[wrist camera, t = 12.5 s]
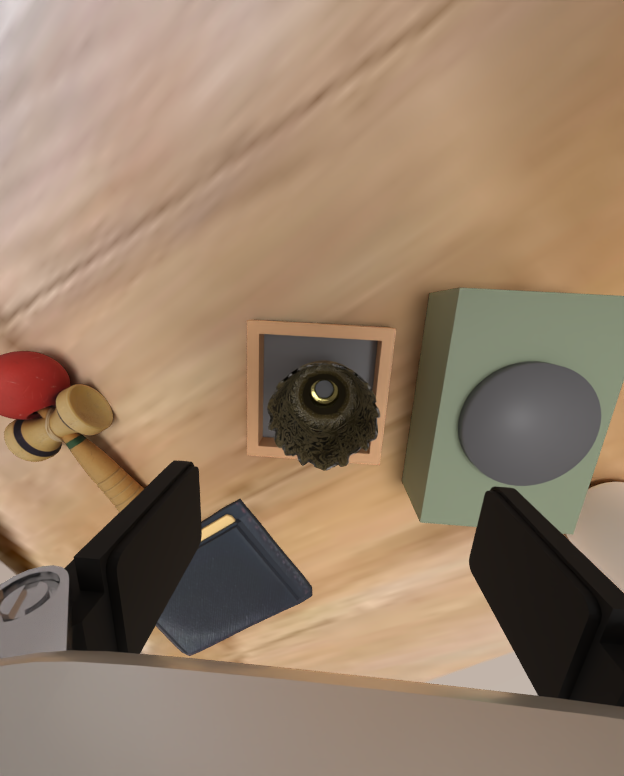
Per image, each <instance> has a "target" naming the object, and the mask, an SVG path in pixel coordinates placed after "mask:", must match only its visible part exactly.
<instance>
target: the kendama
mask: <svg viewBox="0 0 624 776" xmlns="http://www.w3.org/2000/svg"><path fill="white" fill-rule="evenodd" d="M0 415H1V416H4V417H8V418H12V419H16V420H14V421H13V422H11V423H10V424H9V425H8V426H7V427H6V429H5V431H4V439H5V442H6V445H7V446H8V448H9V450H10V451H11V452H12V453H13V454H15V455H16V456H17V457H19V458H21V459H23V460H26V461H31V462H39V461H43V460H46V459H48V458H50V457H52V456H54V455H56V454H57V453H58V452H59V451H60V449H61V446H62V442H65V443H66V445H67V446H68V448H69V449H70V451H71V452H72V454H73V455H74V457H75V458H76V459H77V461H78V462H79V464H80V465H81V466H82V468H83V469H84V470H85V471H86V473H87V474H88V475H89V476H90V478H91V479H92V480H93V481H94V482H95V483H96V484H97V486H98V487H99V488H100V489H101V490H102V491H103V492H104V494H105V495H106V496H107V497H108V498H109V500H110V501H111V502H112V503H113V504H114V505H115V507H116V508H117V510H118V511H119V512H121V511H122V510H123V509H124V508H125V507H126V506H127V505H128V504H129V503H130V502H131V501H132V500H133V499H134V498H135V497H136V496H137V495H138V494H139V493H140V492H141V491H143V490H144V488H143V487H142V486H139V484H138V483H137V482H136V481H135V480H134V479H133V478H132V477H131V476H130V475H129V474H127V473H126V472H125V471H124V470H123V469H122V468H121V467H119V465H118V464H117V463H116V462H115V461H114V460H113V459H111V458H110V457H109V456H108V455H107V454H106V453H105V452H103V451H102V450H101V449H100V448H99V447H97V446H96V445H95V444H94V443H92V442H91V441H90V440H88V439H87V438H86V437H84V436H83V435H82V434H84V435H96V434H98V433H100V432H102V431H103V430H105V429H107V428H108V427H109V426H110V425H111V424H112V421H113V414H112V410H111V407H110V405H109V403H108V402H107V400H106V399H105V398H104V397H103V396H102V395H101V394H100V393H99V392H98V391H96V390H95V389H93V388H92V387H89V386H87V385H83V384H76V385H73V386H71V387H70V379H69V376H68V374H67V372H66V370H65V369H64V368H63V367H62V365H60V364H59V363H58V362H57V361H56V360H54V359H52V358H50V357H49V356H46V355H44V354H41V353H37V352H31V351H17V352H10V353H6V354H3V355H0ZM80 433H81V434H80Z"/></svg>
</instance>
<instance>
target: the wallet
mask: <svg viewBox="0 0 624 776" xmlns="http://www.w3.org/2000/svg"><path fill="white" fill-rule="evenodd" d="M201 528H202V537H201V542H200V545H199V547H198V549H197V551H196V553H195V555H194V557H193V558H192V560H191V562H190V564H189V566H188V567H187V569H186V571H185V573H184V575H183V576H182V578H181V580H180V582H179V584H178V585H177V587H176V589H175V591H174V593H173V595H172V596H171V598H170V600H169V602H168V604H167V605H166V607H165V609H164V611H163V613H162V614H161V616H160V618H159V620H158V622H157V624H156V627H157V628H158V629H159V630H160V631H161V632H162V633H163V634H164V635H165V636H166V637H167V638H168V639H169V640H170V641H171V642H172V643H173V644H174V645H175V646H176V647H177V648H178V649H179V650H180V651H181V652H182V653H184V654H186V655H188V656H191V655H193V654H196V653H198V652H200V651H202V650H204V649H206V648H208V647H210V646H213V645H215V644H217V643H218V642H220V641H222V640H224V639H226V638H228V637H230V636H232V635H234V634H236V633H238V632H240V631H242V630H244V629H246V628H248V627H250V626H252V625H254V624H257V623H259V622H261V621H263V620H265V619H267V618H269V617H271V616H274V615H276V614H278V613H280V612H282V611H284V610H286V609H289V608H291V607H293V606H295V605H298V604H300V603H302V602H303V601H305V600H306V599H308V598H310V597H311V596H312V586H311V585H310V584H309V582H308V581H307V580H306V578H305V577H304V576H303V574H302V573H301V572H300V571H299V570H298V568H297V567H296V566H295V565H294V564H293V563H292V561H291V560H290V559H289V558H288V557H287V555H286V554H285V553H284V552H283V551H282V549H281V548H280V547H279V546H278V545H277V543H276V542H275V541H274V540H273V538H272V537H271V536H270V535H269V533H268V532H267V531H266V530H265V528H264V527H263V526H262V524H261V523H260V522H259V521H258V520H257V518H256V517H255V516H254V515H253V514H252V513H251V511H250V510H249V509H248V508H247V507H246V505H245V504H244V503H243V502H242V500H241V499H239V500H237V501H235V502H233V503H231V504H229V505H227V506H225V507H224V508H222V509H221V510H219V511H218V512H216V513H215V514H213V515H212V516H210V517H208V518H207V519H205V520H203V521H202V522H201Z"/></svg>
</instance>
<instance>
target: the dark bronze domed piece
mask: <svg viewBox="0 0 624 776" xmlns="http://www.w3.org/2000/svg"><path fill="white" fill-rule="evenodd" d="M324 380H325V381H329V382H330V383H331V384H332V386H333V393H332V394H331V395H330V396H329V397H327V398H322V397H320V396H318V395H317V393H316V390H315V388H316V385H317V384H318V383H319V382H320V381H324ZM376 402H377V401H376V396H375V394H374V393H373V391H372V389H371V387H370V385H369V384H368V383H367V382H366V381H365V380H364V379H363V378H362V377H361V376H359V375H358V374H357V373H356V372H355V371H353V370H352V369H350V368H348V367H346V366H344V365H342V364H340V363H337V362H333V361H315V362H311V363H308V364H305V365H303V366H301V367H299V368H298V369H296V370H295V371H293V372H291V373H290V374H289V375H288V376H287V377H286V378H284V379H283V380H281V381H280V382H279V383H278V385H277V386H276V388H275V391H274V393H273V395H272V396H271V398H270V400H269V403H268V406H267V411H268V414H269V416H270V421H269V424H268V429H269V431H270V430H271V431H275V434H274V440H275V443H276V445H277V447H279V448H282V450H284V454H285V455H286V456H291V455H292V456H295V455H297V457H298V460H299V462H300V463H301V465H302V466H303V465H305V464H307V463H308V462H309V463H312V464H313V465H314V466H315V467H316V468H319V469H321V470H329V469H330V468H332V467H335V466H337V465H339V466H340V467H343V466H346V465H347V464H348V463H349V457H350V455H352V454H356V453H357V452H358V451H359V450H360V449H364V450H365V451H367V450H368V448H369V442H370V441H373V440H376V438H377V436H378V425H377V418H379V417H380V412H379V408H378V407H377V405H376V404H375V403H376ZM274 429H275V430H274Z"/></svg>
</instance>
